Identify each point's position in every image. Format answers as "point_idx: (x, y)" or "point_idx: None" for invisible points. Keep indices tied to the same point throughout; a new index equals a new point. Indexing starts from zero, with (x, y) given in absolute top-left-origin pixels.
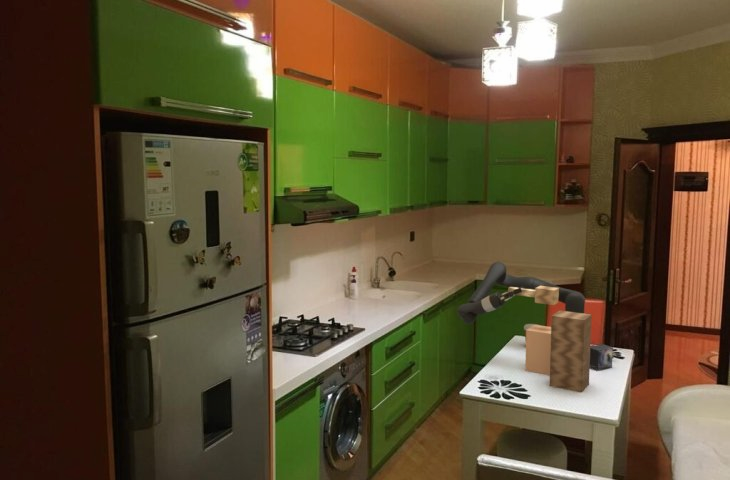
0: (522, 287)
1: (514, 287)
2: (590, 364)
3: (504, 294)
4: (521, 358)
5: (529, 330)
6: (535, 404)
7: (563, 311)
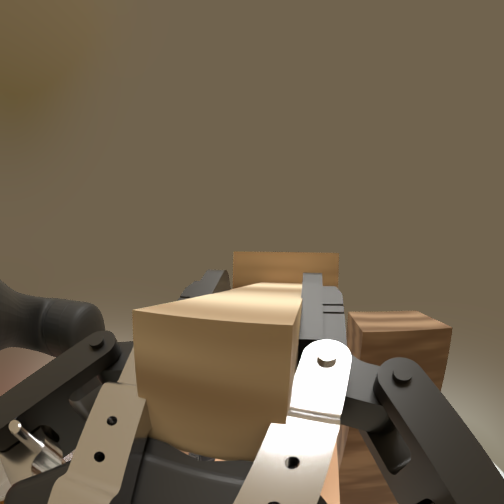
0: (226, 280)
1: (200, 302)
2: (208, 459)
3: (479, 444)
4: None
5: (339, 500)
6: (499, 469)
7: (367, 328)
